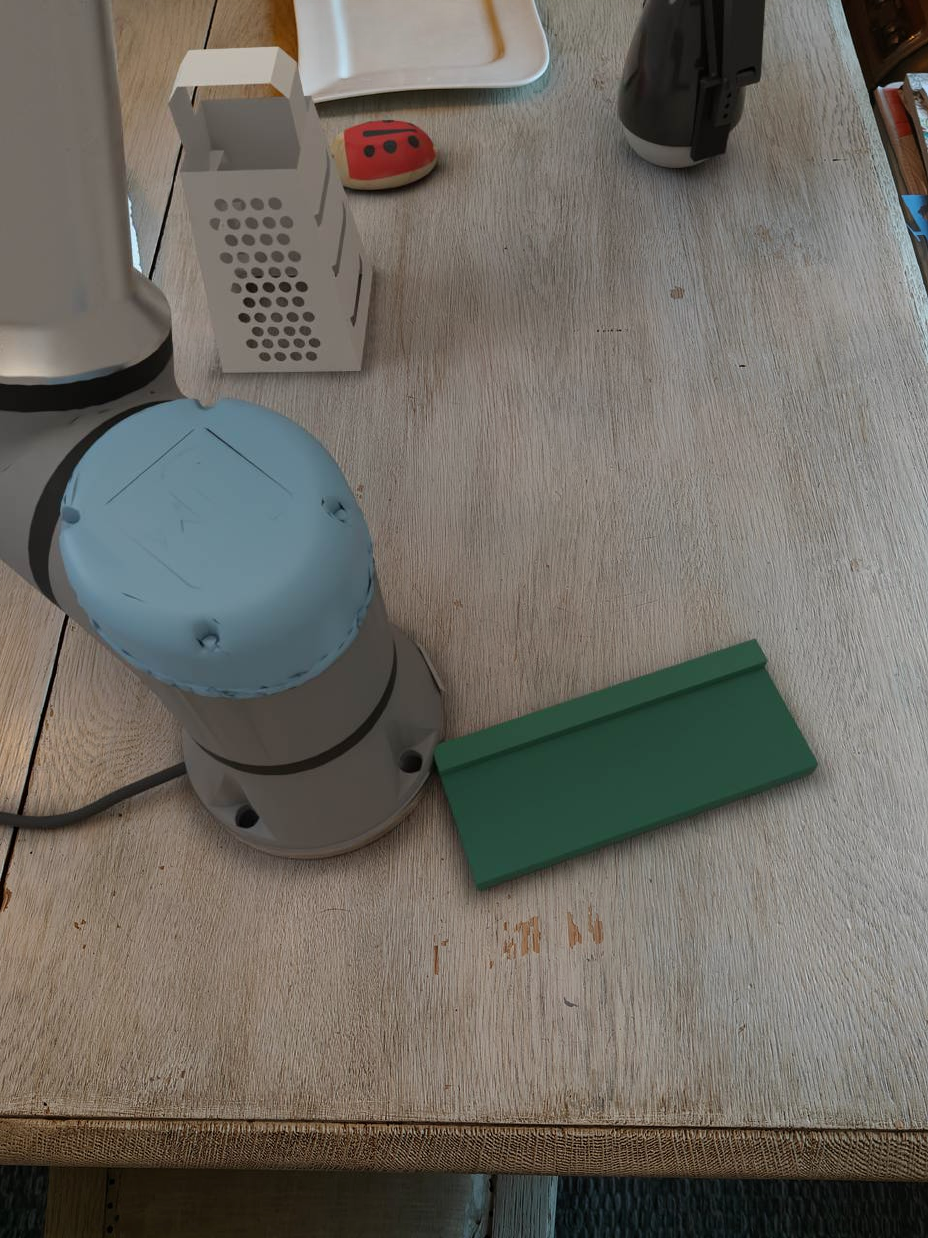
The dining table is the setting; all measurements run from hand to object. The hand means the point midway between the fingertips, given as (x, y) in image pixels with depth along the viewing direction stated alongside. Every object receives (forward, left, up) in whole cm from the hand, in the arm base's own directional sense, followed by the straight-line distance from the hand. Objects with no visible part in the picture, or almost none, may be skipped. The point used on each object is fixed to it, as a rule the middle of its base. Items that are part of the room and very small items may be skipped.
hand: (678, 116), depth 79 cm
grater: (-35, -8, -3) cm, 36 cm away
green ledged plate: (-26, -50, -3) cm, 56 cm away
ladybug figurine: (-24, +7, -3) cm, 25 cm away
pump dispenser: (0, 0, -3) cm, 3 cm away
